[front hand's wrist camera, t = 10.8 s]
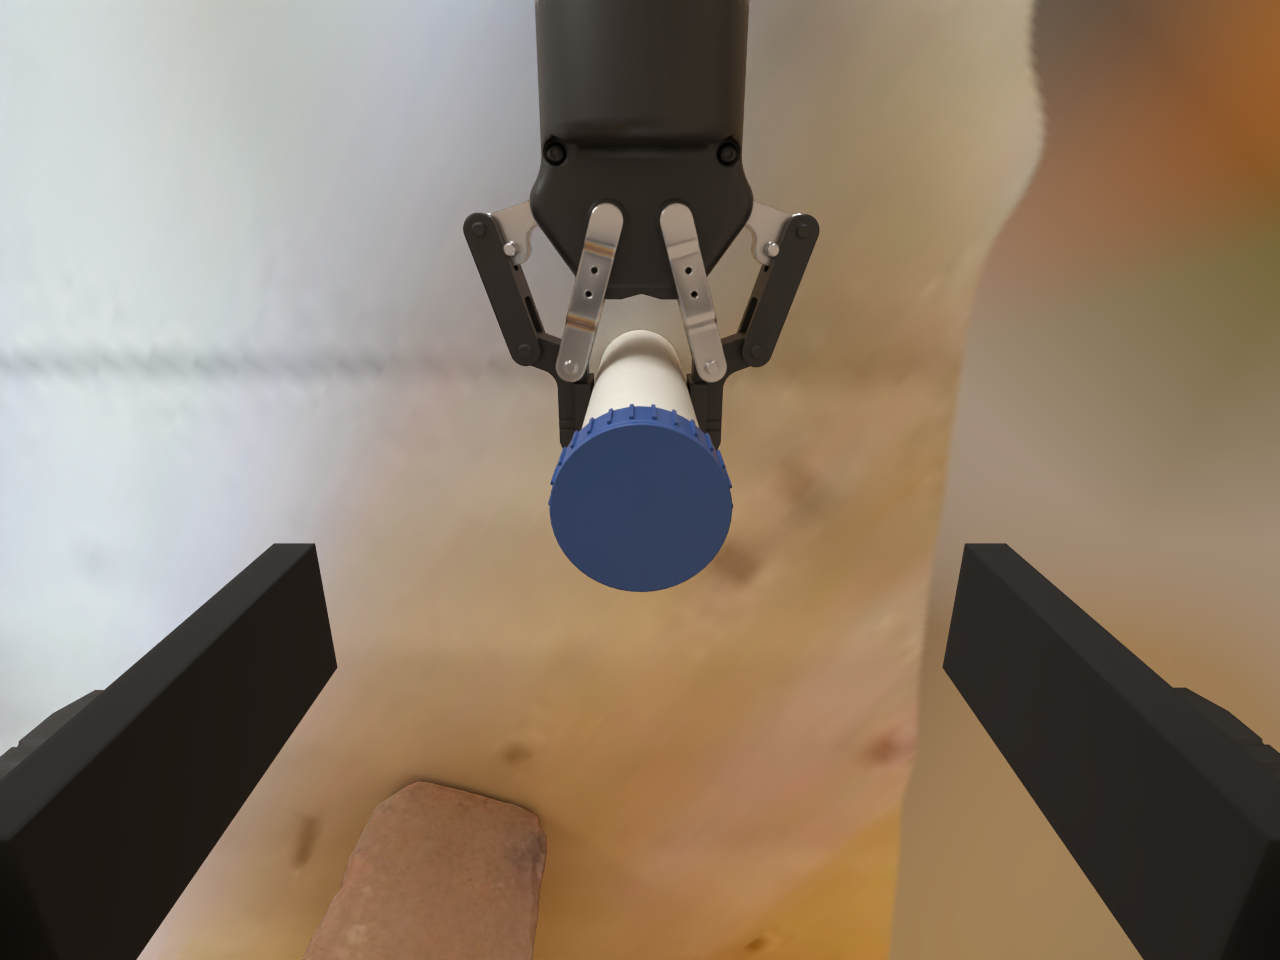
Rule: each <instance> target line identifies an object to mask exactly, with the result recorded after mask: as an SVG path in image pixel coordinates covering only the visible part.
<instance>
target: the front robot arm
mask: <svg viewBox="0 0 1280 960" xmlns="http://www.w3.org/2000/svg"><path fill="white" fill-rule="evenodd" d="M336 669H337V663H336V657H335V652H334V646H333V641H332V635H331V629H330V624H329V618H328V613H327V607H326V602H325V596H324V591H323V585H322V580H321V574H320V569H319V563H318V558H317V552H316V547H315V544H273V545H272V546H271V547H270V548H268V549H267V550H266V551H265V552H264V553H263V554H261V555H260V556H259V557H258V558H257V559H256V560H254V561H253V562H252V563H251V564H250V565H249V566H248V567H246V568H245V569H244V570H243V571H242V572H241V573H239V574H238V575H237V576H236V577H235V578H234V579H232V580H231V581H230V582H229V583H228V584H227V585H226V586H224V587H223V588H222V589H221V590H220V591H219V592H217V593H216V594H215V595H214V596H213V597H212V598H210V599H209V600H208V601H207V602H206V603H205V604H204V605H202V606H201V607H200V608H199V609H198V610H197V611H195V612H194V613H193V614H192V615H191V616H190V617H188V618H187V619H186V620H185V621H184V622H183V623H182V624H180V625H179V626H178V627H177V628H176V629H175V630H173V631H172V632H171V633H170V634H169V635H168V636H166V637H165V638H164V639H163V640H162V641H161V642H160V643H158V644H157V645H156V646H155V647H154V648H153V649H151V650H150V651H149V652H148V653H147V654H146V655H144V656H143V657H142V658H141V659H140V660H139V661H138V662H136V663H135V664H134V665H133V666H132V667H131V668H129V669H128V670H127V671H126V672H125V673H124V674H122V675H121V676H120V677H119V678H118V679H117V680H116V681H114V682H113V683H112V684H111V685H110V686H109V687H107V688H106V689H105V690H94V691H93V692H91V693H89V694H87V695H85V696H84V697H82V698H80V699H78V700H76V701H75V702H73V703H71V704H69V705H67V706H66V707H64V708H62V709H60V710H58V711H56V712H55V713H53V714H52V715H50V716H49V717H48V718H47V719H45V720H44V721H43V722H42V723H41V724H39V725H38V726H37V727H36V728H35V729H33V730H32V731H31V732H30V733H29V734H27V735H26V736H25V737H24V738H23V739H21V740H20V741H19V745H18V747H12V748H10V749H9V750H8V751H7V752H6V753H4V754H3V755H2V756H1V757H0V960H136V959H137V958H138V956H139V955H140V954H141V952H142V951H143V949H144V948H145V946H146V945H147V943H148V942H149V940H150V939H151V938H152V936H153V935H154V933H155V932H156V930H157V929H158V927H159V926H160V924H161V923H162V922H163V920H164V919H165V917H166V916H167V914H168V913H169V911H170V910H171V908H172V907H173V906H174V904H175V903H176V901H177V900H178V898H179V897H180V895H181V894H182V893H183V891H184V890H185V888H186V887H187V885H188V884H189V882H190V881H191V879H192V878H193V877H194V875H195V874H196V872H197V871H198V869H199V868H200V866H201V865H202V863H203V862H204V861H205V859H206V858H207V856H208V855H209V853H210V852H211V850H212V849H213V847H214V846H215V845H216V843H217V842H218V840H219V839H220V837H221V836H222V834H223V833H224V831H225V830H226V829H227V827H228V826H229V824H230V823H231V821H232V820H233V818H234V817H235V815H236V814H237V813H238V811H239V810H240V808H241V807H242V805H243V804H244V802H245V801H246V800H247V798H248V797H249V795H250V794H251V792H252V791H253V789H254V788H255V786H256V785H257V784H258V782H259V781H260V779H261V778H262V776H263V775H264V773H265V772H266V770H267V769H268V768H269V766H270V765H271V763H272V762H273V760H274V759H275V757H276V756H277V754H278V753H279V752H280V750H281V749H282V747H283V746H284V744H285V743H286V741H287V740H288V738H289V737H290V736H291V734H292V733H293V731H294V730H295V728H296V727H297V725H298V724H299V722H300V721H301V720H302V718H303V717H304V715H305V714H306V712H307V711H308V709H309V708H310V706H311V705H312V704H313V702H314V701H315V699H316V698H317V696H318V695H319V693H320V692H321V691H322V689H323V688H324V686H325V685H326V683H327V682H328V680H329V679H330V677H331V676H332V675H333V673H334V672H335V670H336ZM943 669H944V670H945V672H946V673H947V675H948V676H949V677H950V679H951V680H952V682H953V683H954V685H955V686H956V688H957V689H958V690H959V692H960V693H961V695H962V696H963V698H964V699H965V701H966V702H967V704H968V705H969V706H970V708H971V709H972V711H973V712H974V714H975V715H976V717H977V718H978V720H979V721H980V722H981V724H982V725H983V727H984V728H985V730H986V731H987V733H988V734H989V736H990V737H991V738H992V740H993V741H994V743H995V744H996V746H997V747H998V749H999V750H1000V752H1001V753H1002V754H1003V756H1004V757H1005V759H1006V760H1007V762H1008V763H1009V765H1010V766H1011V767H1012V769H1013V770H1014V772H1015V773H1016V775H1017V776H1018V778H1019V779H1020V780H1021V782H1022V783H1023V785H1024V786H1025V788H1026V789H1027V791H1028V792H1029V794H1030V795H1031V797H1032V798H1033V799H1034V801H1035V802H1036V804H1037V805H1038V807H1039V808H1040V810H1041V811H1042V813H1043V814H1044V815H1045V817H1046V818H1047V820H1048V821H1049V823H1050V824H1051V826H1052V827H1053V829H1054V830H1055V831H1056V833H1057V834H1058V836H1059V837H1060V839H1061V840H1062V842H1063V843H1064V844H1065V846H1066V847H1067V849H1068V850H1069V852H1070V853H1071V855H1072V856H1073V858H1074V859H1075V860H1076V862H1077V863H1078V865H1079V866H1080V868H1081V869H1082V871H1083V872H1084V874H1085V875H1086V877H1087V878H1088V879H1089V881H1090V882H1091V884H1092V885H1093V887H1094V888H1095V889H1096V891H1097V893H1098V894H1099V895H1100V897H1101V898H1102V900H1103V901H1104V903H1105V904H1106V906H1107V907H1108V908H1109V910H1110V911H1111V913H1112V914H1113V916H1114V917H1115V919H1116V920H1117V922H1118V923H1119V924H1120V926H1121V927H1122V929H1123V930H1124V932H1125V933H1126V935H1127V936H1128V938H1129V939H1130V940H1131V942H1132V943H1133V945H1134V946H1135V948H1136V949H1137V950H1138V952H1139V954H1140V955H1141V956H1142V958H1143V959H1144V960H1280V753H1279V752H1277V751H1276V750H1275V749H1274V748H1272V747H1271V746H1270V745H1264V744H1263V742H1262V738H1260V737H1259V736H1258V735H1257V734H1255V733H1254V732H1253V731H1252V730H1251V729H1249V728H1248V727H1247V726H1246V725H1245V724H1243V723H1242V722H1241V721H1240V720H1238V719H1237V718H1236V717H1235V716H1234V715H1232V714H1231V713H1230V712H1229V711H1227V710H1225V709H1223V708H1222V707H1220V706H1218V705H1216V704H1214V703H1212V702H1211V701H1209V700H1207V699H1205V698H1203V697H1202V696H1200V695H1198V694H1196V693H1194V692H1192V691H1191V690H1189V689H1187V688H1173V687H1171V686H1170V685H1169V684H1168V683H1167V682H1166V681H1164V680H1163V679H1162V678H1161V677H1160V676H1159V675H1158V674H1156V673H1155V672H1154V671H1153V670H1152V669H1151V668H1149V667H1148V666H1147V665H1146V664H1145V663H1144V662H1142V661H1141V660H1140V659H1139V658H1138V657H1137V656H1136V655H1134V654H1133V653H1132V652H1131V651H1130V650H1128V649H1127V648H1126V647H1125V646H1124V645H1123V644H1122V643H1120V642H1119V641H1118V640H1117V639H1116V638H1115V637H1114V636H1112V635H1111V634H1110V633H1109V632H1108V631H1107V630H1105V629H1104V628H1103V627H1102V626H1101V625H1100V624H1098V623H1097V622H1096V621H1095V620H1094V619H1093V618H1091V617H1090V616H1089V615H1088V614H1087V613H1086V612H1085V611H1083V610H1082V609H1081V608H1080V607H1079V606H1078V605H1076V604H1075V603H1074V602H1073V601H1072V600H1071V599H1069V598H1068V597H1067V596H1066V595H1065V594H1064V593H1063V592H1061V591H1060V590H1059V589H1058V588H1057V587H1056V586H1054V585H1053V584H1052V583H1051V582H1050V581H1049V580H1048V579H1046V578H1045V577H1044V576H1043V575H1042V574H1041V573H1039V572H1038V571H1037V570H1036V569H1035V568H1034V567H1032V566H1031V565H1030V564H1029V563H1028V562H1027V561H1025V560H1024V559H1023V558H1022V557H1021V556H1020V555H1019V554H1017V553H1016V552H1015V551H1014V550H1013V549H1012V548H1010V547H1009V546H1008V545H1007V544H965V547H964V552H963V558H962V563H961V569H960V574H959V580H958V585H957V591H956V596H955V602H954V607H953V613H952V619H951V624H950V630H949V635H948V641H947V646H946V652H945V657H944V663H943Z"/></svg>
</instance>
